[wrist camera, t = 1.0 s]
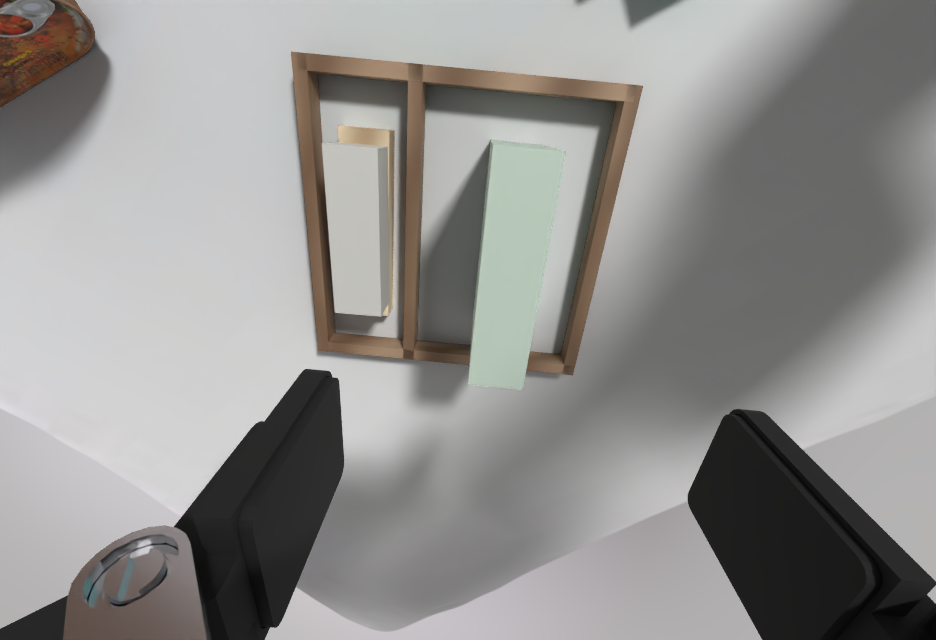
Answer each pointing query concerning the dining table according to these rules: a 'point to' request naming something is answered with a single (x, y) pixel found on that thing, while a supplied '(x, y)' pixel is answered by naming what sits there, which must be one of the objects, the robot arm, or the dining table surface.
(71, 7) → the tin
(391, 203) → the pine offcut
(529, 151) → the sage panel
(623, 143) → the rack
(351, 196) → the grey offcut
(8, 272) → the dining table surface
